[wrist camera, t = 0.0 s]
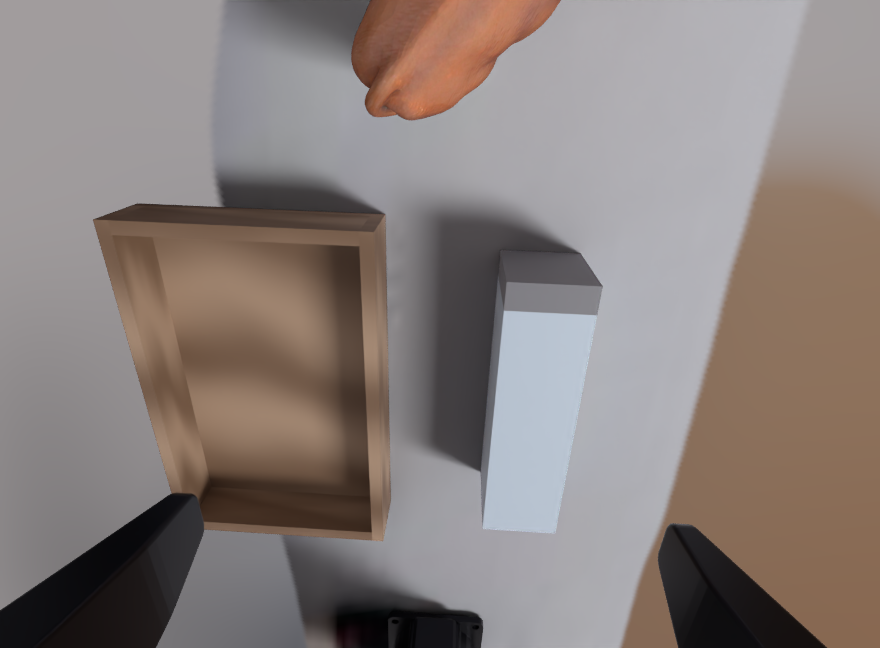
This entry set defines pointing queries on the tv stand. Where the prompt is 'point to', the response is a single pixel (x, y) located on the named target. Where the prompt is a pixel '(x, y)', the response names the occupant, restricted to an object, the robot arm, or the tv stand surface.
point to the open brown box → (261, 360)
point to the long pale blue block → (535, 385)
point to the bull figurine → (435, 49)
